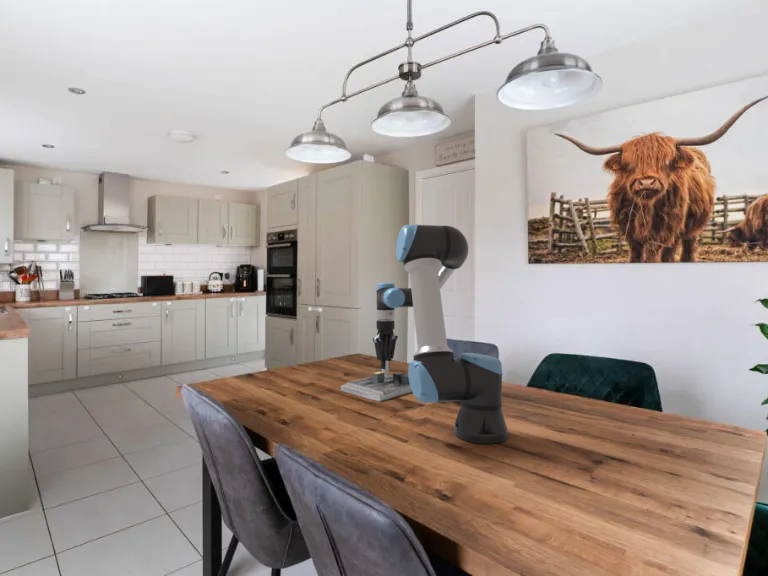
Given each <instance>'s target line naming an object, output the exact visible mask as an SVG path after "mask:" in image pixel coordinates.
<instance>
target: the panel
mask: <svg viewBox="0 0 768 576" xmlns="http://www.w3.org/2000/svg"><path fill="white" fill-rule="evenodd" d="M375 372H382V369H381V368H378V369H375ZM340 391H341V392H343V393H344V392H345V393H348V394H351V395H354V396H357V397H362V398H365V399H368V400H369V399H370V400H373V401H376V402H383V401H387V400H390V399H393V398H396V397H400V396H405V395H406V394H410V393H413V392H412V390H411V387H410V383H409V378H408V373H407V374H406V373H405V372H401V371H398V372H393V373H392V375H389V377H384V382H381V383H377V384H374V383H372V376H369V377H365V378H360V379H359V378H358V379H355V380H351V381H348V382H346V383H345V384H343V385H340Z"/></svg>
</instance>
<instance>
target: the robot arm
mask: <svg viewBox="0 0 768 576" xmlns="http://www.w3.org/2000/svg"><path fill="white" fill-rule="evenodd" d="M395 249H396V251H395V255H396V256H395V257H396V260H397V262H400V263H402V264H403V269H404V271H406V272H407V273H408V274H409V278H410V279H409V280H410V287H409V288H408V287H407V288H406V287H403V288H402V287H399V288H397V287H396V285H395V283H394V282H378V283H377V284H376V290H375V293H376V330H377V333H376V336H375V337H373V338H372V342H373V343H374V348H375V355H376V360H377V361H380V369H382V372H383V373H384V377H389V376H390V367H391V366H390V365H391V363H390V362H392V360H393V359H394V357H395V351H396V345H397V340H398V337H399V336H398V335H396V334H395V333H394V330H395V309H397V308H413V317H414V327H415V334H416V343H417V344H416V345H417V350H416V352H415V353H414V354H413V355H412V357H413V360H412V361H410V362H409V363H408V366H407V369H408V372H407V374H408V378H409V383H410V387H411V390H412V392H411V393H412V394H413V396H414V398H415V399H416V400H417V401H418V402H420V403H424V404H427V403H429V404H431V403H432V404H436V403H446V402H458V401H459V402H460V407H459V409H458V410H459V411H458V413H457V416H456V418H455V422H454V427H453V428H454V431H453V433H454V435H455V436H456V437H457V438H458V439H460V440H462V441H466V442H470V443H474V444H479V445H480V444H482V445H483V444H484V445H485V444H486V445H487V444H488V445H492V444H499V443H502V442H504V441H506V440H507V439H508V432H509V431H508V426H507V422H506V420H505V417H504V416H505V415H504V413H503V410H502V402H503V401H502V398H503V395H502V394H503V391H502V389H503V375H504V374H503V367H502V362H501V360H500V359H499V358H497V357H494V356H492V355H487V354H482V353H476V352H475V353H474V352H473V353H472V352H462V353H461V354H460V356H459V357H460V358H457V359H456V358H455V354H454V353H455V352H454V350H453V349H451V348H450V347H449V346H448V342H447V341H448V340H447V333H446V325H445V317H444V311H443V302H442V296H441V289H442V288H443V286H444V285H445V284H446V282H447V281H448V279H449V278H450V277H451V276H452V274H453V273H454V271H455V270H458V269H460V268H461V267H462V266H463V264H464V263H465V262H466V261H467V258H468V254H469V243H468V240H467V237H466V236H465V235H464V234H463V232H462V231H460V230H459V228H456V227H454V226H451V225H433V224H418V223H415V224H405V225H404V226H402V227H401V229H400V231H399V234H398V236H397V241H396V247H395Z"/></svg>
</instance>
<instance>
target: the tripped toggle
mask: <svg viewBox="0 0 768 576" xmlns="http://www.w3.org/2000/svg"><path fill="white" fill-rule="evenodd" d="M371 377H372V383H374V384H377V383H381V382H384V373H383V372H376V371H375V372H373V373H372V375H371Z"/></svg>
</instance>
